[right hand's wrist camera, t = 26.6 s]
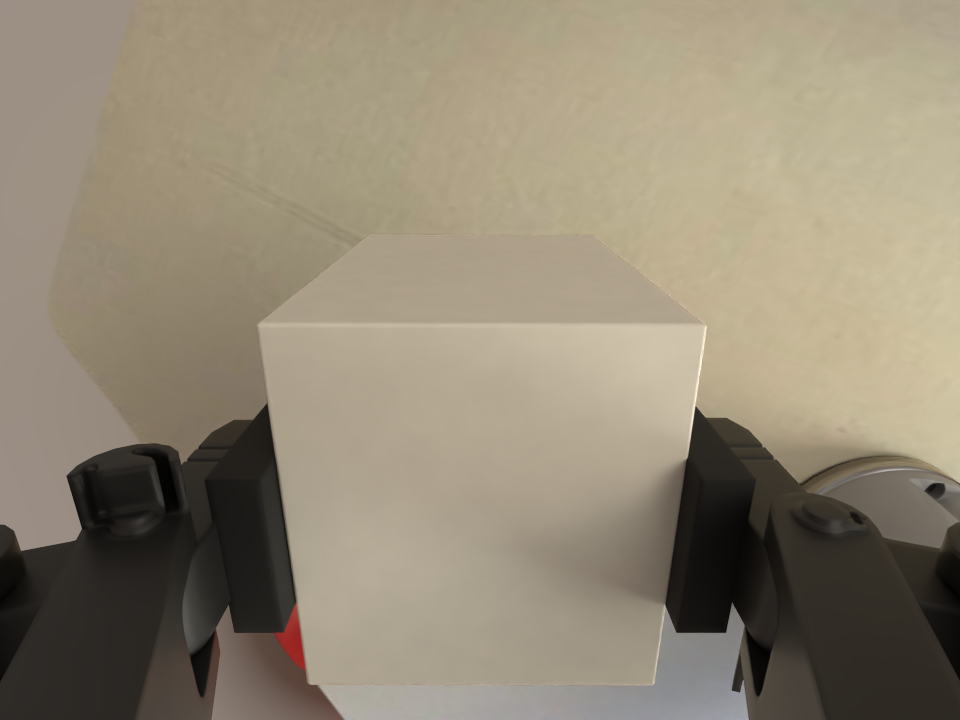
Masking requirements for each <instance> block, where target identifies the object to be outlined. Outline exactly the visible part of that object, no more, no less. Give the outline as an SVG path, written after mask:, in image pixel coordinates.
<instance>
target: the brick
mask: <svg viewBox="0 0 960 720" xmlns="http://www.w3.org/2000/svg"><path fill="white" fill-rule="evenodd" d="M706 330H707V326H706V324H705V323H704V322H703V321H702V320H700V319H699V318H698V317H696V316H695V315H694V314H693V313H691V312H690V311H689V310H688V309H686V308H685V307H684V306H683V305H681V304H680V303H679V302H678V301H676V300H675V299H674V298H673V297H671V296H670V295H669V294H667V293H666V292H665V291H664V290H662V289H661V288H660V287H659V286H657V285H656V284H655V283H654V282H652V281H651V280H650V279H649V278H647V277H646V276H645V275H643V274H642V273H641V272H640V271H638V270H637V269H636V268H635V267H633V266H632V265H631V264H630V263H628V262H627V261H626V260H625V259H623V258H622V257H621V256H620V255H618V254H617V253H616V252H614V251H613V250H612V249H611V248H609V247H608V246H607V245H606V244H604V243H603V242H602V241H601V240H599V239H598V238H597V237H596V236H594V235H368V236H367V237H365V238H364V239H363V240H362V241H360V242H359V243H358V244H357V245H355V246H354V247H353V248H352V249H350V250H349V251H348V252H347V253H345V254H344V255H343V256H342V257H340V258H339V259H338V260H337V261H335V262H334V263H333V264H332V265H330V266H329V267H328V268H327V269H325V270H324V271H323V272H322V273H320V274H319V275H318V276H317V277H315V278H314V279H313V280H312V281H310V282H309V283H308V284H306V285H305V286H304V287H303V288H301V289H300V290H299V291H298V292H296V293H295V294H294V295H293V296H291V297H290V298H289V299H288V300H286V301H285V302H284V303H283V304H281V305H280V306H279V307H278V308H276V309H275V310H274V311H273V312H271V313H270V314H269V315H268V316H266V317H265V318H264V319H263V320H261V321H260V322H259V323H258V324H257V332H258V339H259V346H260V353H261V360H262V367H263V374H264V381H265V388H266V395H267V402H268V409H269V416H270V423H271V430H272V437H273V444H274V451H275V458H276V465H277V472H278V479H279V486H280V493H281V500H282V507H283V514H284V521H285V528H286V535H287V542H288V549H289V556H290V563H291V570H292V577H293V584H294V591H295V598H296V605H297V612H298V619H299V626H300V633H301V640H302V647H303V654H304V661H305V668H306V675H307V682H308V684H310V685H653V684H654V682H655V675H656V669H657V662H658V655H659V648H660V642H661V635H662V628H663V621H664V614H665V608H666V605H665V604H666V597H667V591H668V584H669V577H670V570H671V563H672V556H673V550H674V543H675V536H676V529H677V522H678V515H679V509H680V502H681V495H682V488H683V481H684V474H685V468H686V461H687V458H688V452H689V445H690V439H691V432H692V425H693V418H694V412H695V405H696V398H697V391H698V384H699V378H700V371H701V364H702V357H703V351H704V344H705V337H706Z"/></svg>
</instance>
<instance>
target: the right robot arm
mask: <svg viewBox="0 0 960 720" xmlns="http://www.w3.org/2000/svg"><path fill="white" fill-rule="evenodd" d="M67 479H68V483H69V486H70V490H71V493H72V496H73V500H74V503H75V506H76V510H77V513H78V517H79V520H80V523H81V527H82V530H81V532H80V534H79V536H78V538H77V540H75V541H71V542H67V543H62V544H56V545H51V546H46V547H40V548H35V549H30V550H25V551H21V550H20V547H19V544H18V541H17V538H16V535H15V533H14V531H13V530H12V529H10V528H9V527H7V526H6V525H0V720H211V717H212V710H213V702H214V695H215V687H216V680H217V672H218V665H219V657H220V649H219V642H218V637H217V632H216V626H217V625H218V623H219V621H220V619H221V617H222V615H223V614H224V612H225V610H226V608H227V606H228V605H229V608H230V613H231V618H232V623H233V628H234V632H235V633H284V631H285V629H286V626H287V624H288V621H289V619H290V616H291V614H292V611H293V609H294V606H295V604H296V598H295V591H294V584H293V577H292V570H291V563H290V556H289V549H288V542H287V535H286V528H285V521H284V514H283V507H282V500H281V493H280V486H279V479H278V472H277V465H276V458H275V451H274V444H273V437H272V430H271V423H270V416H269V409H268V403H267V404H266V405H265V406H264V408H263V409H262V410H261V411H260V412H259V414H258V415H257V416H256V417H255V419H254V420H233V421H231V422H230V423H228V424H226V425H224V426H222V427H221V428H219V429H217V430H215V431H213V432H212V433H211V434H210V435H209V436H208V437H207V438H206V439H205V440H204V442H203V443H202V444H201V445H200V446H199V450H195V451H194V452H193V453H192V454H191V455H190V457H189V458H188V461H187V462H184V463H183V464H182V465H181V463H180V458H179V453H178V451H176V450H175V449H173V448H172V447H170V446H167V445H161V444H155V443H154V444H136V445H131V446H126V447H121V448H116V449H113V450H110V451H107V452H104V453H102V454H99V455H96V456H94V457H92V458H90V459H88V460H86V461H85V462H83V463H81V464H79V465H77V466H76V467H75V468H74V469H73V470H72V471H71V472H70V473H69V474H68V475H67ZM732 603H733V604H734V606H735V608H736V610H737V612H738V614H739V615H740V617H741V619H742V621H743V623H744V624H745V627H744V632H743V637H742V641H741V646H740V651H739V656H738V660H737V665H736V670H735V674H734V680H733V686H732V691H736V692H740V690H741V685H742V681H743V680H744V686H745V693H746V701H747V708H748V716H749V720H960V484H959V483H958V482H957V481H955V480H954V479H952V478H951V477H949V476H948V475H947V474H945V473H944V472H942V471H941V470H939V469H937V468H936V467H934V466H932V465H930V464H927V463H925V462H922V461H919V460H915V459H910V458H905V457H897V456H881V457H870V458H864V459H859V460H855V461H851V462H848V463H844V464H841V465H839V466H836V467H834V468H831V469H829V470H827V471H825V472H823V473H821V474H819V475H817V476H816V477H814V478H812V479H811V480H809V481H808V482H806V483H805V484H803V485H802V486H801V485H800V484H799V483H798V482H797V481H796V480H795V479H794V478H793V477H792V476H791V475H790V474H789V473H788V472H787V471H786V469H785V468H784V467H783V466H782V465H781V464H780V463H779V462H778V461H777V460H774V459H773V456H772V455H771V454H770V452H769V451H768V450H767V449H766V448H762V444H761V443H760V442H759V441H758V440H757V439H756V438H755V436H754V435H753V434H752V433H751V432H750V431H749V430H747V429H745V428H744V427H742V426H740V425H738V424H736V423H735V422H733V421H731V420H729V419H727V418H705V417H704V416H703V414H702V413H701V412H700V411H699V409H698V408H697V407H696V406H695V412H694V418H693V425H692V432H691V439H690V445H689V452H688V458H687V461H686V468H685V474H684V481H683V488H682V495H681V502H680V509H679V515H678V522H677V529H676V536H675V543H674V550H673V556H672V563H671V570H670V577H669V584H668V591H667V597H666V604H665V605H666V608H667V610H668V613H669V615H670V618H671V620H672V623H673V625H674V628H675V630H676V633H726V630H727V625H728V620H729V615H730V610H731V605H732Z"/></svg>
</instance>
